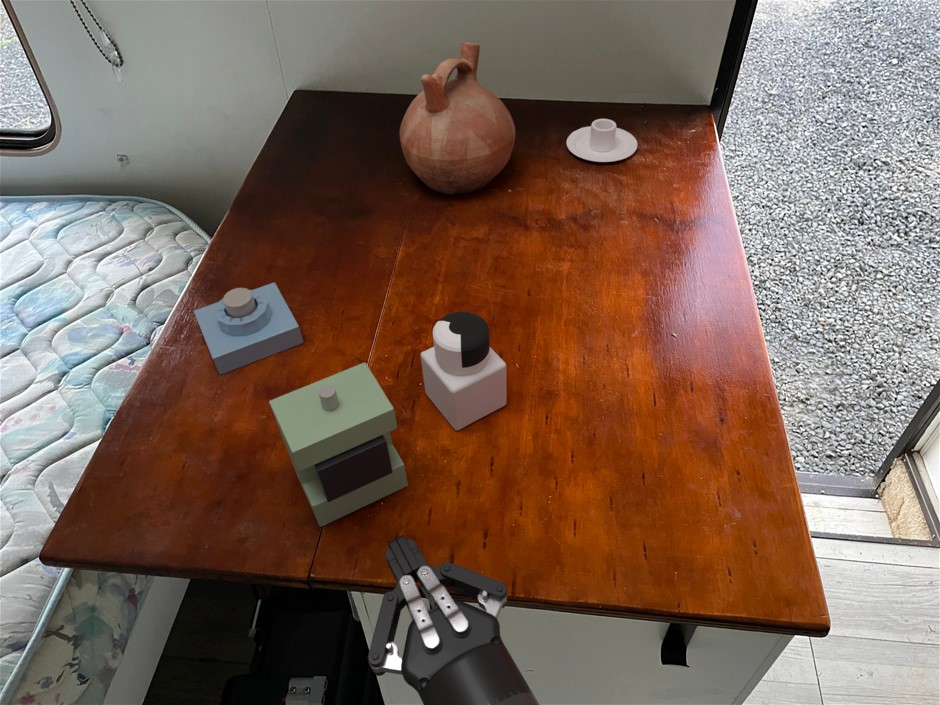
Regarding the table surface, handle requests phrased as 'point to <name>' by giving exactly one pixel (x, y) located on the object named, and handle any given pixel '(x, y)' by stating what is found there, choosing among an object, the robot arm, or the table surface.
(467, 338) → the medicine bottle
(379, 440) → the paddle
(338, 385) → the green block with peg
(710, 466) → the table surface
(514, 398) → the table surface
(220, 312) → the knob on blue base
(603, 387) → the table surface
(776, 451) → the table surface
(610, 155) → the candle holder
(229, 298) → the short grey cylinder plug
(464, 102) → the jug
